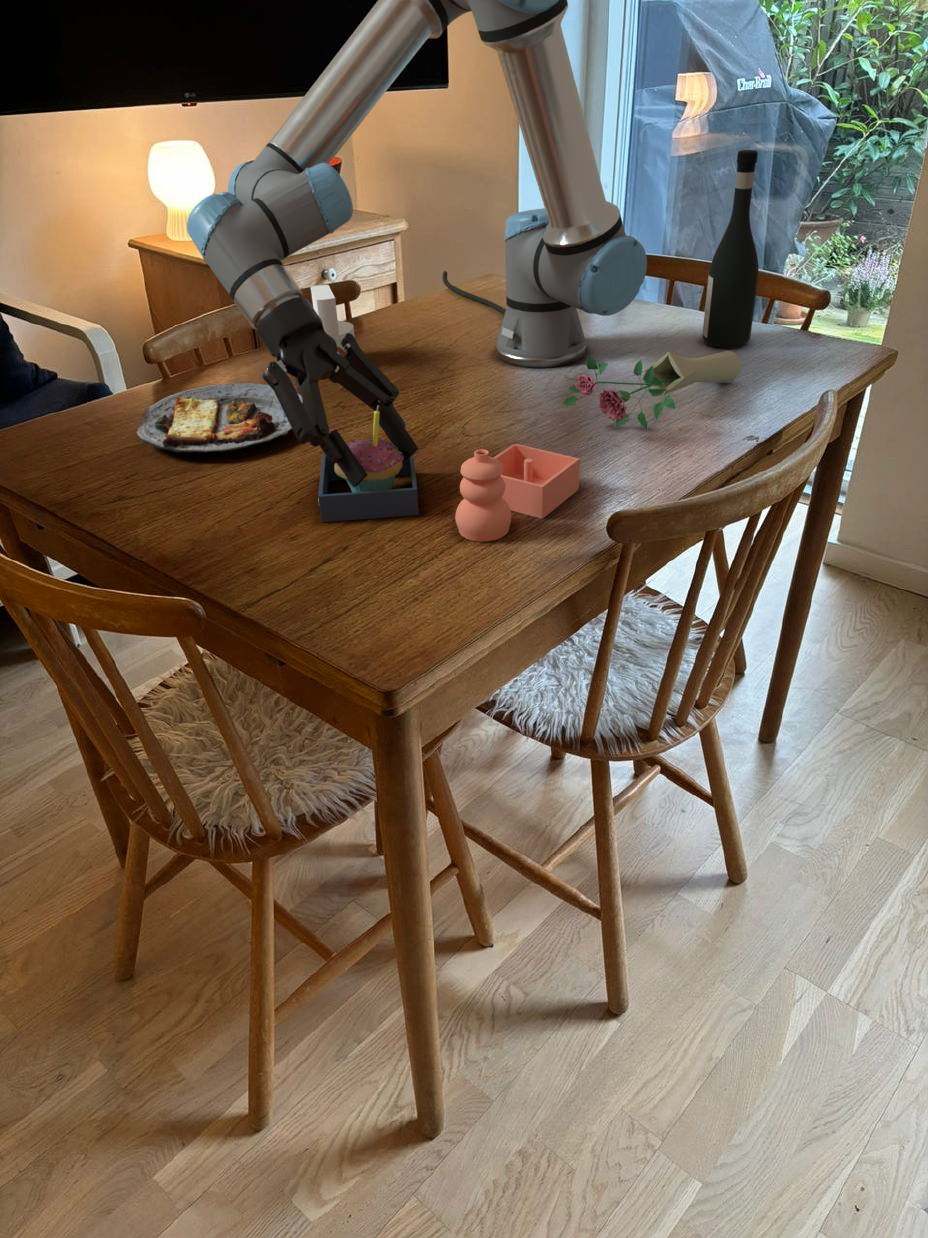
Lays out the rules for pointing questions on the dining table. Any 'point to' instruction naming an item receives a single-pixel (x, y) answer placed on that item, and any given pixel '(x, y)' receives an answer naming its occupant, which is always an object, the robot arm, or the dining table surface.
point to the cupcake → (375, 461)
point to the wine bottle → (734, 269)
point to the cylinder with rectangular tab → (329, 313)
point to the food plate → (215, 419)
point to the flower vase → (657, 382)
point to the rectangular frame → (366, 497)
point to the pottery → (512, 488)
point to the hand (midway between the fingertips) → (386, 467)
